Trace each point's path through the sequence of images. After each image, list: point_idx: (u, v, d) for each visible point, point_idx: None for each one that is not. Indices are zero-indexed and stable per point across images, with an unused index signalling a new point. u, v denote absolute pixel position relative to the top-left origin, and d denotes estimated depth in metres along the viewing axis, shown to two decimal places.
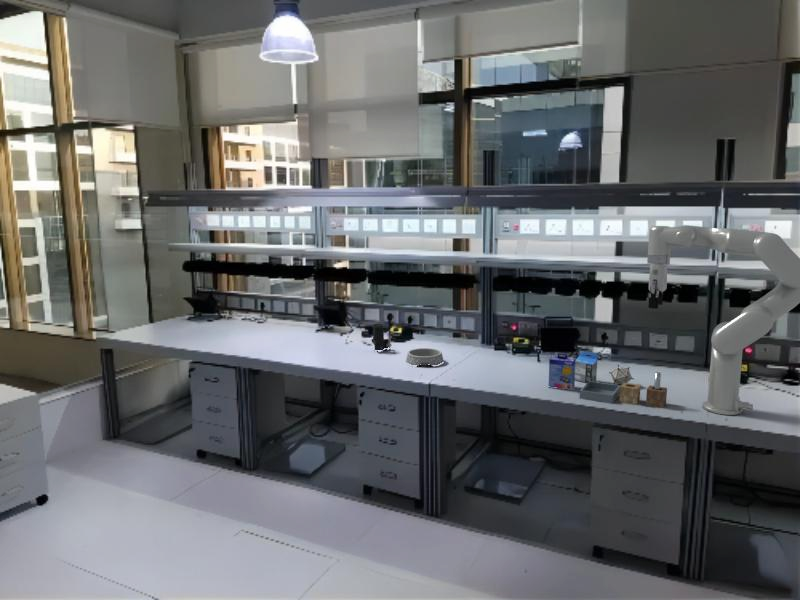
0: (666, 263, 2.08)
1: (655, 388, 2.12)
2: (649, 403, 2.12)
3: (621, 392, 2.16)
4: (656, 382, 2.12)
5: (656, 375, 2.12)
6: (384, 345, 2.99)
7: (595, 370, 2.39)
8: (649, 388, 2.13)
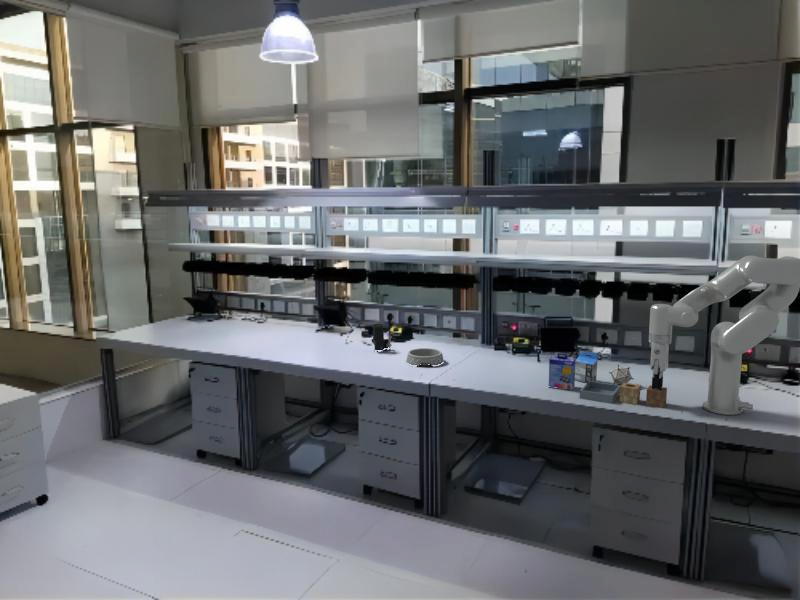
0: (668, 342, 2.07)
1: (655, 388, 2.12)
2: (649, 403, 2.12)
3: (621, 392, 2.16)
4: None
5: None
6: (384, 345, 2.99)
7: (595, 370, 2.39)
8: (649, 388, 2.13)
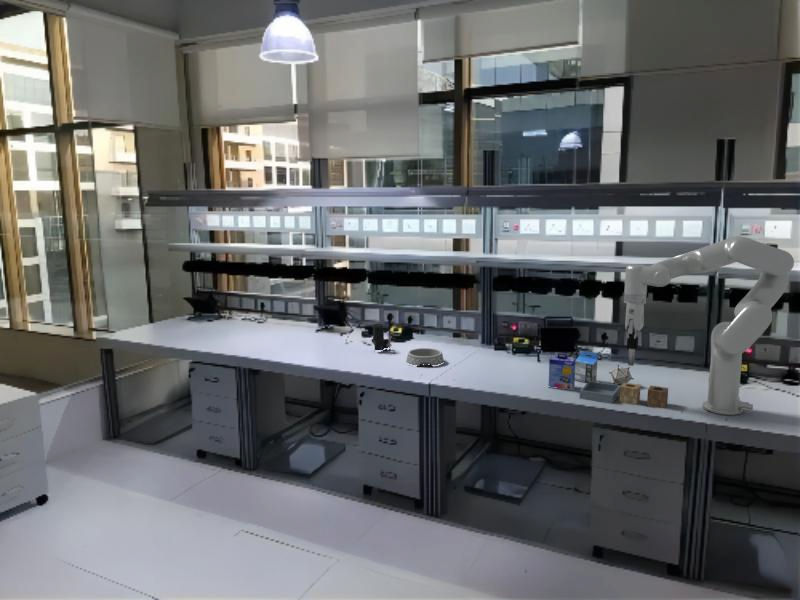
0: (642, 302, 2.08)
1: None
2: (650, 403, 2.12)
3: (621, 392, 2.16)
4: None
5: None
6: (384, 345, 2.99)
7: (595, 370, 2.39)
8: (650, 388, 2.13)
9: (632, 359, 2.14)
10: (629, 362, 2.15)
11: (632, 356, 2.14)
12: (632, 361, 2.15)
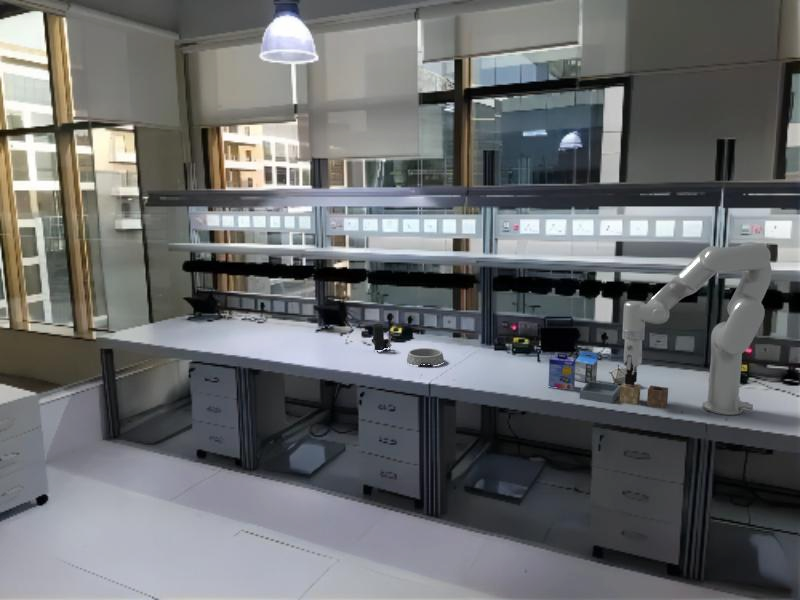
0: (640, 339, 2.11)
1: (628, 385, 2.16)
2: (650, 403, 2.12)
3: (621, 392, 2.16)
4: None
5: None
6: (384, 345, 2.99)
7: (595, 370, 2.39)
8: (650, 388, 2.13)
9: None
10: None
11: None
12: None
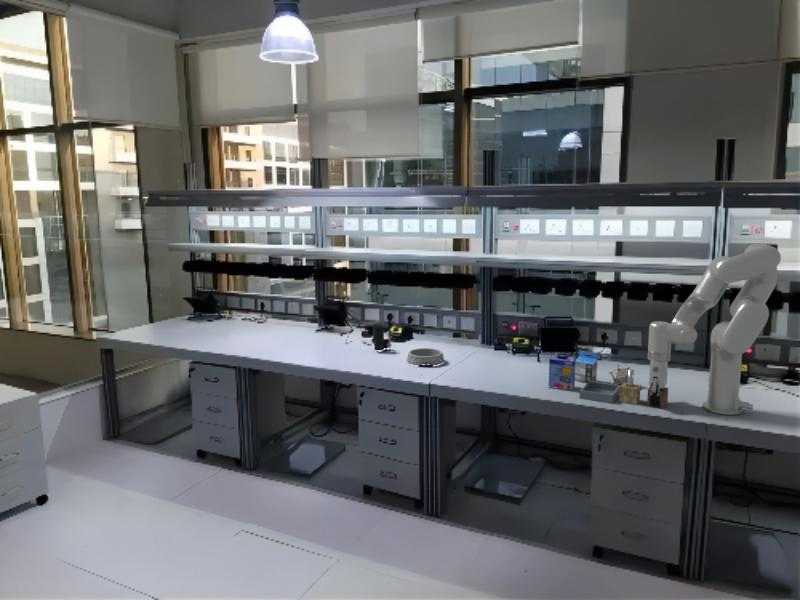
0: (666, 360, 2.08)
1: (628, 385, 2.16)
2: None
3: (621, 392, 2.16)
4: (629, 379, 2.16)
5: (629, 372, 2.16)
6: (384, 345, 2.99)
7: (595, 370, 2.39)
8: (650, 388, 2.13)
9: None
10: None
11: None
12: None
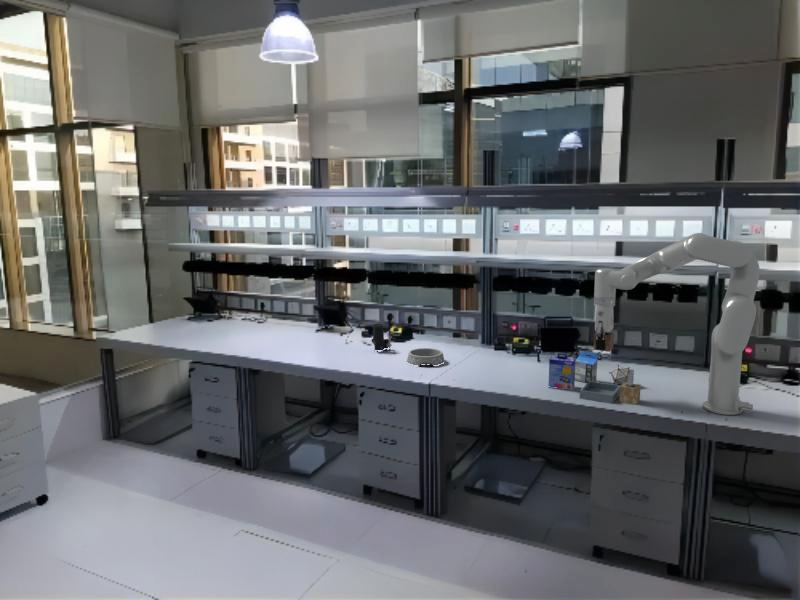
0: (611, 305, 2.15)
1: (628, 385, 2.16)
2: None
3: (621, 392, 2.16)
4: (629, 379, 2.16)
5: (629, 372, 2.16)
6: (384, 345, 2.99)
7: (595, 370, 2.39)
8: (596, 333, 2.21)
9: None
10: None
11: None
12: None
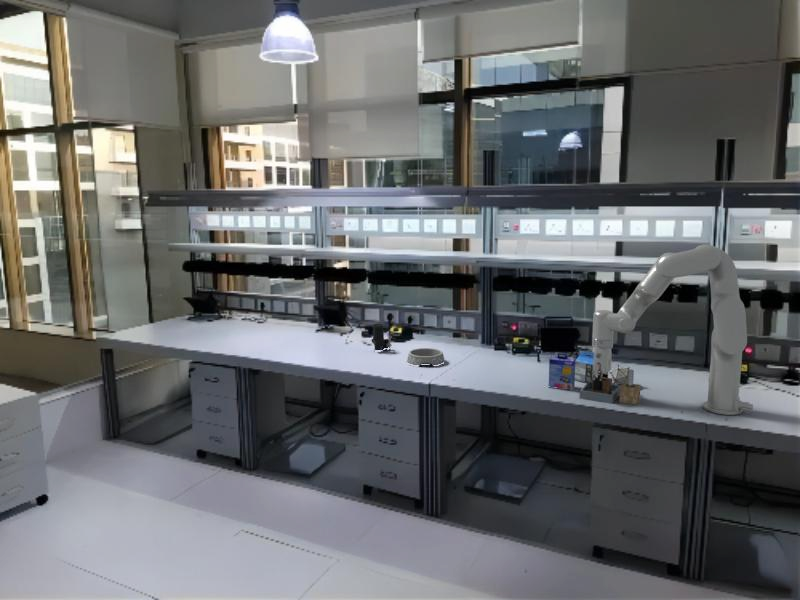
0: (609, 347, 2.18)
1: (628, 385, 2.16)
2: None
3: (621, 392, 2.16)
4: (629, 379, 2.16)
5: (629, 372, 2.16)
6: (384, 345, 2.99)
7: None
8: None
9: None
10: None
11: None
12: None
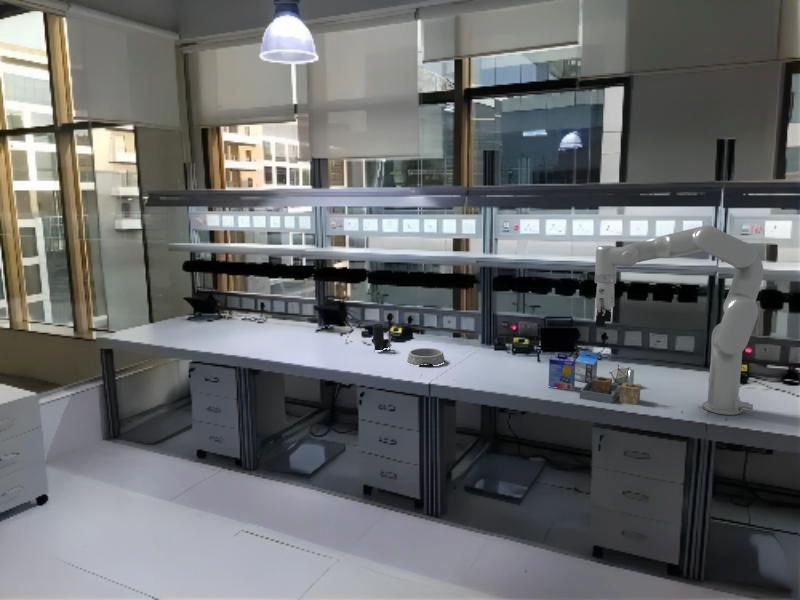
0: (612, 282, 2.14)
1: (628, 385, 2.16)
2: None
3: (621, 392, 2.16)
4: (629, 379, 2.16)
5: (629, 372, 2.16)
6: (384, 345, 2.99)
7: (595, 370, 2.39)
8: (595, 379, 2.23)
9: None
10: None
11: None
12: None
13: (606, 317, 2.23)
